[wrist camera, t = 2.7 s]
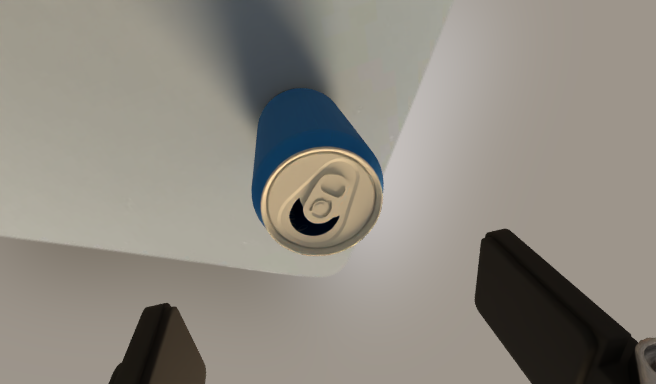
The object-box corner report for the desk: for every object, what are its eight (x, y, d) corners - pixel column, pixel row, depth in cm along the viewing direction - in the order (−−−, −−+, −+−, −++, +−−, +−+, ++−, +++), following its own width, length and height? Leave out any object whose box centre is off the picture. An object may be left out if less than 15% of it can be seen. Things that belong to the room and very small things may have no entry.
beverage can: (243, 146, 26) (226, 236, 15) (282, 68, 24) (293, 110, 13) (316, 180, 28) (345, 278, 17) (357, 112, 26) (419, 177, 15)
